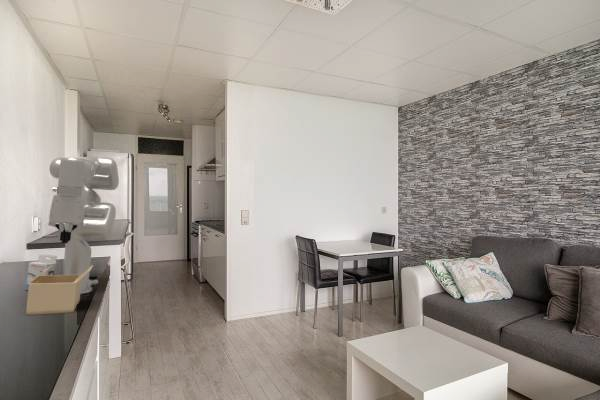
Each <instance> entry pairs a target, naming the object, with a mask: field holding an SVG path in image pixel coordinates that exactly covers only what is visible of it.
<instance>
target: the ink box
mask: <svg viewBox="0 0 600 400" xmlns="http://www.w3.org/2000/svg"><path fill="white" fill-rule="evenodd" d="M48 258H49V259H48ZM51 265H52V267H50V268H49V269H48V270H47V271H45V272H44V273H43V274H41V275H56V268H57V255H53V254H41V253H40V254H38V261H31V262H28V270H27V278H26V285H25V286H26V289H29V284H30V283H29V281H31V280H32V279H33V278H35V277H36V276H37V275H39V274H40V273H41V272H43V271H44V270H45V269H47V268H48V267H49V266H51ZM37 278H38V277H37ZM33 281H34V280H33ZM26 289H25V290H26Z"/></svg>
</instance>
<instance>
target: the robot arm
mask: <svg viewBox="0 0 600 400" xmlns="http://www.w3.org/2000/svg"><path fill="white" fill-rule="evenodd" d="M118 171H119V169H118V165H117V162H116V161H115V160H114V159H113V158H110V157H104V156H103V157H101V156H95V155H87V156H83V157H80V156H79V157H76V156H75V157H56V158H54V159H53V160H52V161H51V162H50V165H49V173H50V175H51V177H52V178H54V179H58V180H57V181H58V183H57V186H56V187H52V192H55V193H56V194H53V197H52V201H51V205H50V210H49V215H48V218H49V219H48V220H49V221H48V226H49V227H54V228H56V229H57V230H59V232H60V236H59V241H61V244H65V245H64V246H65V247H64V258H63V265H62V275H82V274H83V273H84V272H85V271H86V270H87V269H88V268H89V267H90V266H91V260H92V248H91V246H90V245H89V243H88V242H87V241H88V240H91V241H106V240H109V239H110V237H111V235H112V233H113V229H114V225H115V220H116V215H117V211H116V207H115V205H114V204H112V203H110V202H101V200H102V198H101V196H100V195H99V194H98V193H97V192H96V191H95V190H105V191H114V190H116V189H118V187H119V184H120V183H119V181H120V180H119V172H118ZM90 272H91V270H90V271H89V272H88V273H87V274H86V275H85V276H84V277H83V278H82V281H81V292H80V295H84V294H88V293H91V292H92V291H93V287H92V285H98V284H99V280H98V279H90Z"/></svg>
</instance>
